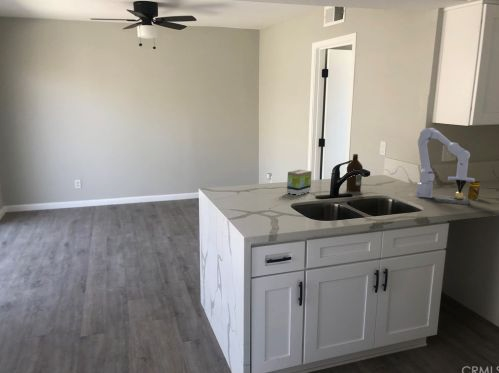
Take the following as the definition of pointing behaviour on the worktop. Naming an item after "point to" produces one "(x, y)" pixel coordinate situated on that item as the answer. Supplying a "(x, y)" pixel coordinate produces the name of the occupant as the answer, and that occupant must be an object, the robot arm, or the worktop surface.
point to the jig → (451, 199)
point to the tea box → (299, 182)
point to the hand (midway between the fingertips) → (459, 192)
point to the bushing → (459, 196)
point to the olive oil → (355, 181)
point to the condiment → (473, 190)
